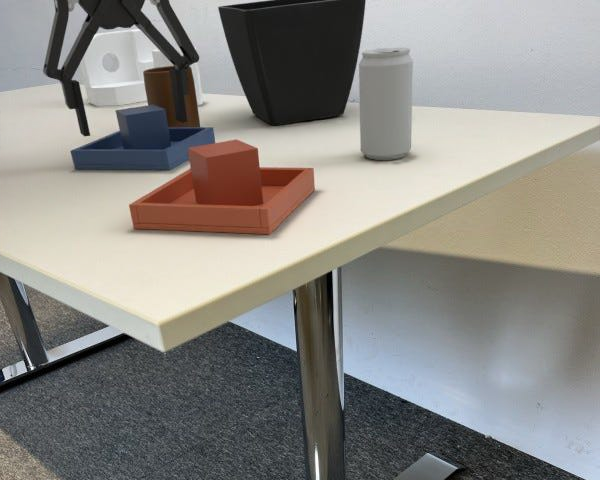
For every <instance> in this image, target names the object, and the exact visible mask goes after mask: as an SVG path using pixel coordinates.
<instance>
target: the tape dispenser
mask: <svg viewBox="0 0 600 480" xmlns="http://www.w3.org/2000/svg"><path fill="white" fill-rule="evenodd" d="M156 29H157V30H158V31H159V32H160V28H156ZM155 49H158V48H157V47H156V46H155V45H154V44H153V43H152V42H151V41H150V40H149V38H148V37H147V36H146V35H145V34H144V33H143V32H142V31H141V30H140V29H138V28H135V29H126V30H117V31H109V32H108V31H107V32H99V33H98V32H97V33H96V34H95V35H94V37H93V39H92V41H91V43H90V45H89V47H88V49H87V51H86V53H85V55H84V57H83V58H82V60H81V62H80V64H79V67H80V72H81V76H82V79H83V84H84V89H85V93H86V98H87V101H88V103H89V104H91V105H94V106H96V107H111V106H123V105H131V104H137V103H142V102H147V96H146V91H145V85H144V75H143V71H145V70H148V69H152V68H155V67H154V62H153V56H152V51H153V50H155ZM107 54H108V55H109V56H110V57H111V59H112V66H111V68H110V69H108V70H106V69H105V68H104V66H103V58H104V57H105V56H106V55H107Z"/></svg>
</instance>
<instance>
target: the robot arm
mask: <svg viewBox="0 0 600 480" xmlns="http://www.w3.org/2000/svg"><path fill="white" fill-rule="evenodd" d="M145 2H146V0H53V4H54V17H53V21H52V25H51V30H50V35H49V40H48V44H47V50H46V54H45V59H44V63H43V67H42V72H43V74H44V76H46V77H48V78H49V79H53V80H57V81H59V82H60V85H61V88H62V89H61V90H62V94H63V97H64V98H63V99H64V103H65V105H66V107H67V108H68V109H69V110H75V114H76V119H77V124H78V129H79V133H80V134H81V135H82V136H83V137H91V132H90V128H89V127H90V126H89V123H88V119H87V113H86V109H85V104H84V100H83V95H82V90H81V86H80V82H79V81H78V80H75V79H73V78H74V76H75V74H76V72H77V70H78V68H79V67H80V62H81V60H82V58H83V57H84V55H85V53H86V51H87V49H88V47H89V45H90V43H91V41H92V39H93V37H94V35H95V34H98V31H99V29H103V30H106V31H107V30H115V29H117V28H120V29H121V28H122V29H132V27H133V26H135V27H136V29H140V30H141V31H142V32H143V33H144V34H145V35H146V36H147V37H148V38H149V40H150V41H151V42H152V43H153V44H154V45H155V46H156V47H157V48H158V49H159V50H160V51H161V52H162V53H163V54H164V55H165V57H166V58H167V59H168V60H169V61H170V62H171V63H172V64H173V65H174V66H175V69H170V70H169V72H170V79H171V86H172V93H173V100H174V107H175V114H176V120H177V121H180V122H182V123H184V122H187V115H186V107H185V100H184V95H189V92H190V88H189V80H188V73H187V69H188V68H189V66H190V65H192V64H193V63H196V62H198V63H199V61H200V55H199V54H198V51H197V49H196V50H195V48H194V46H195V45H194V44H193V42H192V41H191V39H190V37H189V35H188V33H187V32H186V30H185V28H184V27H183V25H182V23H181V21H180V20H179V18H178V16H177V14H176V12H175V10H174V9H173V7H172V5H171V4H170V0H149V2H150V4H151V5H152V6H155V7H156V10H157V11H158V13H159V15H160V17H161V19H162V21H163V22H164V24H165V26H166V27H167V30H168V31H169V33H170V35H171V36H172V37H173V39H174V41H175V43H176V45H177V47H179V48H180V50H181V51H182V53H183V56H181V55H180V54H179V53H178V52H177V50H176V49H175V48H174V47H175V46H173V45H172V44H171V43H170V42H169V41H168V39H167V38H166V37H165V36H164V35H163V34H162V33H161V32H160V30H159V31H158V30H157V29H158V28H157V27H156V26H155V25H154V24H153V23H152V21H151V20H150V19H149V18H148V16H146V14H145V13H144V12H143V11H142V9H143V7H144V5H145ZM76 4H78V5H79V6H80V8H82V9H83V11H84V13H86V14H87V15H86V17H85V19H84V21H83V22H82V25H81V29H80V30H79V32H78V35H77V36H76V38H75V40H74V42H73V45H72V46H71V48H70V50H69V52H68V54H67V56H66V58H65V60H64V62H63V64H62V66H61V68H58V67H59V64H60V59H61V55H62V50H63V45H64V41H65V36H66V32H67V27H68V23H69V16H70V12H71V13H72V12H73V11H74V9H75V5H76Z"/></svg>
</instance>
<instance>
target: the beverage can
mask: <svg viewBox="0 0 600 480" xmlns="http://www.w3.org/2000/svg"><path fill="white" fill-rule="evenodd" d="M410 53H411V48H408V47H388V48H387V47H386V48H375V49H369V50H364V51H361V56H362V58H361V60H360V61H359V63H358V76H359V77H358V79H359V80H358V84H359V85H358V86H359V132H360V133H359V135H360V140H359V141H360V152H361V153H362V154H364V156H366V158H367V159H369V160H375V161H392V160H398V159H401V158H404V157H405V156H406V155H407V153H408V152H410V151H411V149H412V128H413V126H412V125H413V124H412V121H413V81H414V80H413V78H414V77H413V75H414V74H413V73H414V69H413V68H414V60H413V58H412V56H411V55H410Z"/></svg>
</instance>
